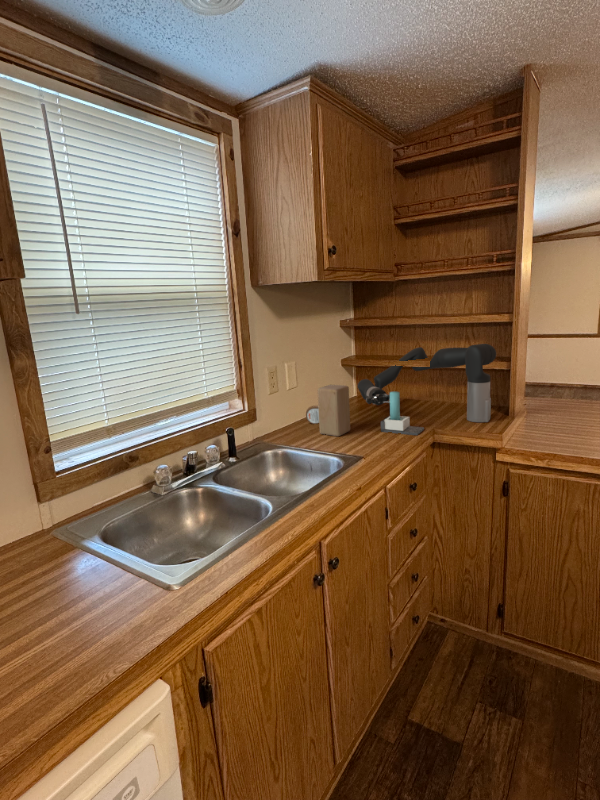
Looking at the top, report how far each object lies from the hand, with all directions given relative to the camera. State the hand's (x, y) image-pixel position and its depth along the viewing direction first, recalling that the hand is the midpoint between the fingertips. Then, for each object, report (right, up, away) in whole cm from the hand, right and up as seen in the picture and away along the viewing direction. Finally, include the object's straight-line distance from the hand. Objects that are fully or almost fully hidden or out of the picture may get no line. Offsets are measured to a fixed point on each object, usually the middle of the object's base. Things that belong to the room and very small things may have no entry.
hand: (387, 402), depth 196 cm
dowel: (+2, -10, -6) cm, 12 cm away
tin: (-28, -10, +12) cm, 32 cm away
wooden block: (-23, -13, -4) cm, 27 cm away
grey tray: (+5, -12, -8) cm, 15 cm away
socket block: (+3, -11, -7) cm, 13 cm away
